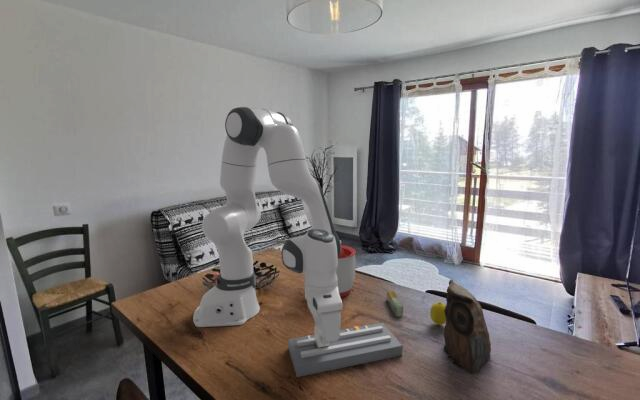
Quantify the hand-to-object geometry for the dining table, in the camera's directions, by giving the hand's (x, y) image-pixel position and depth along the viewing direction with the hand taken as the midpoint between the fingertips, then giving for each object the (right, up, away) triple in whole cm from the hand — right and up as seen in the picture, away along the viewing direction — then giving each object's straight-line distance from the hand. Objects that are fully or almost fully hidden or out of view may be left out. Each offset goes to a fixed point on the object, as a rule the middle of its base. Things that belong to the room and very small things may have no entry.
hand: (321, 337), depth 89 cm
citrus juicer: (+5, +1, +40) cm, 41 cm away
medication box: (+26, -1, +27) cm, 38 cm away
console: (+6, -5, +3) cm, 9 cm away
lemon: (+38, -3, +16) cm, 41 cm away
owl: (+40, -6, 0) cm, 41 cm away
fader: (0, -3, 0) cm, 3 cm away
